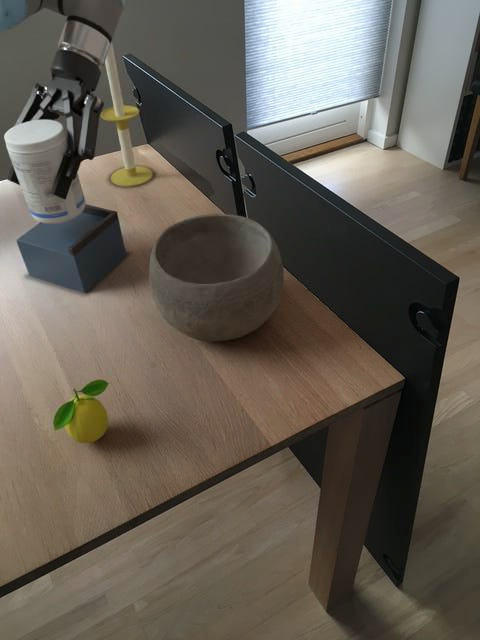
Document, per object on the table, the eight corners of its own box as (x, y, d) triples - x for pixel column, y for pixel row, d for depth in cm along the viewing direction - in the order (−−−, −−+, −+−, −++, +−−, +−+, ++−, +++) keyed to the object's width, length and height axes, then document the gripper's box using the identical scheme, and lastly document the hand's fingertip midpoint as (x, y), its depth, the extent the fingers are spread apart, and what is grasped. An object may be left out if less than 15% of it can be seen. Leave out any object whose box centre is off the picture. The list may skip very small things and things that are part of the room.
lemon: (118, 415, 75) (103, 366, 69) (116, 450, 71) (100, 401, 64) (70, 421, 75) (50, 372, 68) (65, 456, 71) (43, 408, 64)
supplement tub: (62, 193, 100) (39, 114, 90) (98, 206, 95) (77, 125, 86) (19, 216, 94) (-10, 135, 84) (55, 232, 90) (28, 148, 80)
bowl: (178, 380, 80) (164, 303, 70) (144, 298, 94) (128, 225, 84) (304, 340, 85) (308, 263, 75) (253, 269, 100) (251, 196, 90)
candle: (155, 183, 126) (131, 30, 104) (112, 189, 125) (78, 35, 103) (150, 164, 133) (126, 18, 112) (109, 170, 132) (77, 23, 110)
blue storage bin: (29, 275, 101) (13, 232, 94) (73, 240, 109) (61, 198, 103) (84, 293, 96) (71, 248, 90) (126, 254, 105) (117, 211, 98)
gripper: (145, 80, 87) (100, 211, 88) (48, 63, 96) (8, 183, 97) (117, 55, 80) (69, 197, 81) (15, 39, 89) (-27, 167, 90)
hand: (36, 189), depth 89 cm, fingers closed on supplement tub, 9 cm apart
